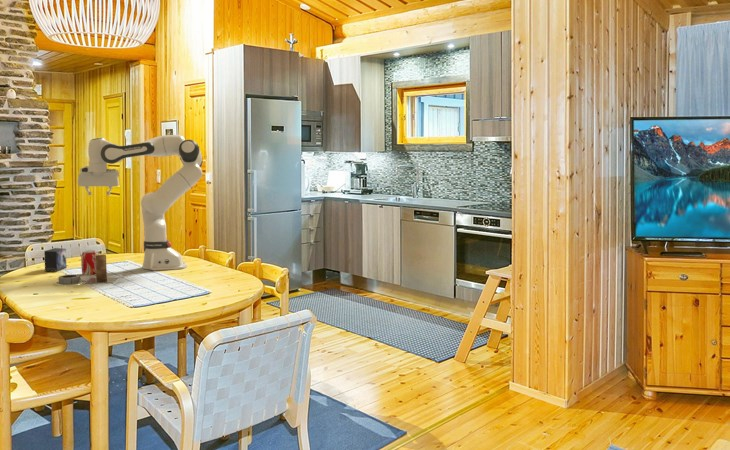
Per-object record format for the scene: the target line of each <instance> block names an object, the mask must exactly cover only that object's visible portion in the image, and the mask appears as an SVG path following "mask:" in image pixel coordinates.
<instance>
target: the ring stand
mask: <svg viewBox="0 0 730 450" xmlns="http://www.w3.org/2000/svg"><path fill="white" fill-rule="evenodd" d="M54 284H55V286H60V287H64V286H65V287H69V286H77V285H82V284H85V280H81V275H80V274H65V275H60V276H58V282H56V283H54Z"/></svg>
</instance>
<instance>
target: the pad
mask: <svg viewBox="0 0 730 450" xmlns="http://www.w3.org/2000/svg"><path fill="white" fill-rule="evenodd" d="M117 279H118V277H117V276H113V277H111V276H110V277H108V276H107V281H106V282H97V278H96V277H90V278H89V279H88V280H86V281H85V282H84V284H86V285H88V284H90V285H93V284H95V285H96V284H114V282H116V280H117Z"/></svg>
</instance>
